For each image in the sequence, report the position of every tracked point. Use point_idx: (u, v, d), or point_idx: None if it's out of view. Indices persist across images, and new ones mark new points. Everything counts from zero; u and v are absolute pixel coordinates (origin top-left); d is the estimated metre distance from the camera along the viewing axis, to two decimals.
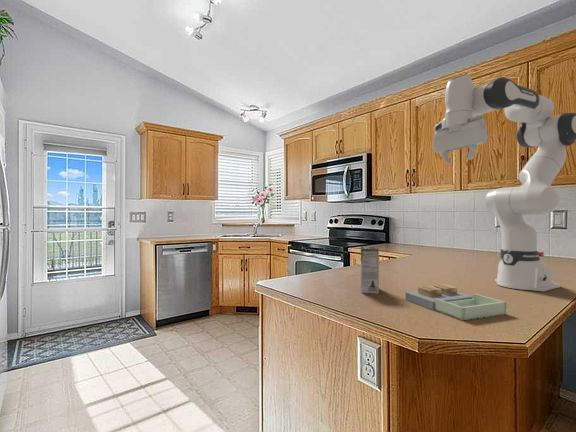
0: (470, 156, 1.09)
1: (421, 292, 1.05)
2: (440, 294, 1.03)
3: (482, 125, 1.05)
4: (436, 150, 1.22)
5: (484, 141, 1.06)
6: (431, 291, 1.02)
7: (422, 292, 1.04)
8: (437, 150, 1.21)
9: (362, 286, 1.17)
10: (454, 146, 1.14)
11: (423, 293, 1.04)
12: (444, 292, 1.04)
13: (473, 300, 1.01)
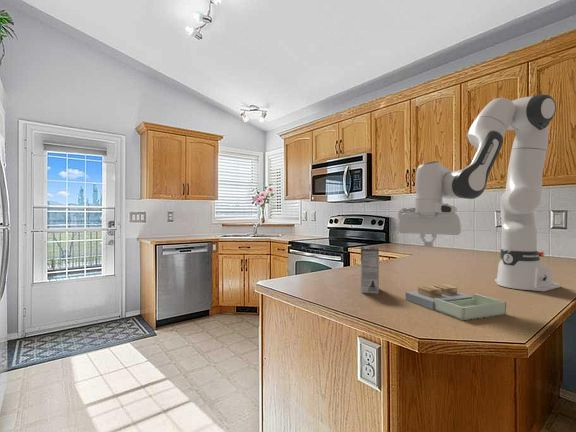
0: None
1: (421, 292, 1.05)
2: (440, 294, 1.03)
3: None
4: None
5: (399, 231, 1.18)
6: (431, 291, 1.02)
7: (422, 292, 1.04)
8: None
9: (362, 286, 1.17)
10: None
11: (423, 293, 1.04)
12: (444, 292, 1.04)
13: (473, 300, 1.01)
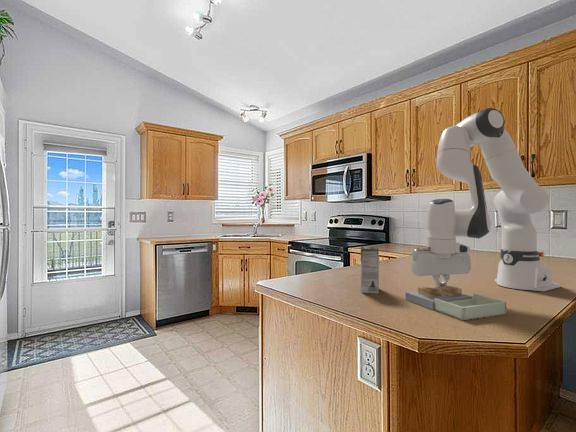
0: (436, 285, 1.09)
1: (421, 292, 1.05)
2: (440, 294, 1.03)
3: None
4: None
5: (415, 274, 1.06)
6: (431, 291, 1.02)
7: (422, 292, 1.04)
8: None
9: (362, 286, 1.17)
10: None
11: (423, 293, 1.04)
12: (448, 293, 1.02)
13: (473, 300, 1.01)
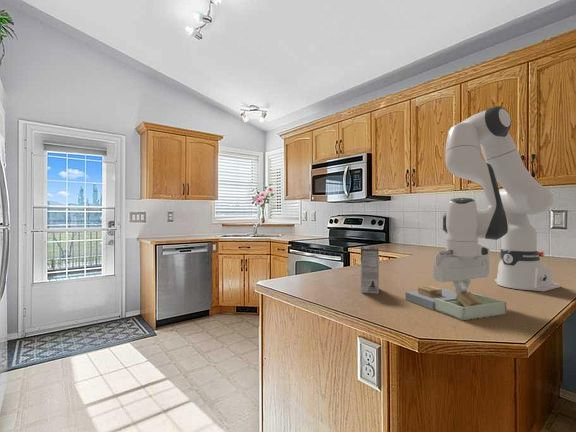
0: (456, 291, 1.01)
1: (421, 292, 1.05)
2: (440, 294, 1.03)
3: None
4: None
5: (439, 280, 0.97)
6: (431, 291, 1.02)
7: (422, 292, 1.04)
8: None
9: (362, 286, 1.17)
10: None
11: (423, 293, 1.04)
12: None
13: None
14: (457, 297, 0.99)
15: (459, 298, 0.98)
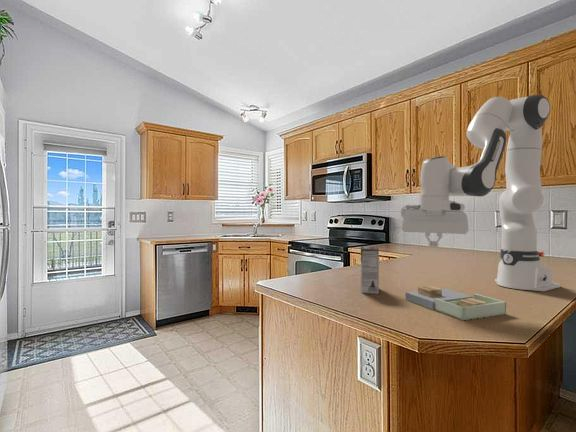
0: (428, 243, 1.09)
1: (421, 292, 1.05)
2: (440, 294, 1.03)
3: None
4: None
5: None
6: (431, 291, 1.02)
7: (422, 292, 1.04)
8: None
9: (362, 286, 1.17)
10: None
11: (423, 293, 1.04)
12: None
13: None
14: (460, 304, 0.98)
15: (462, 304, 0.97)
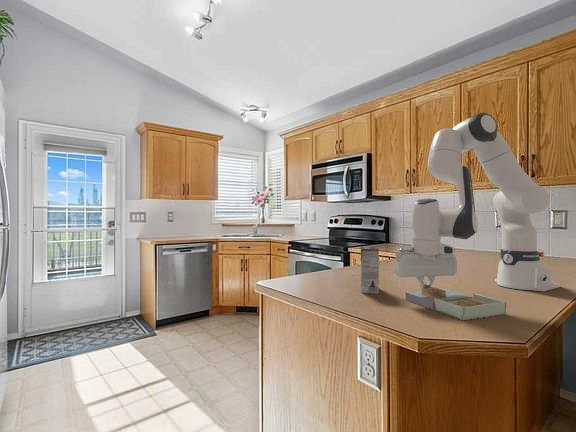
0: (420, 286, 1.07)
1: (424, 293, 1.03)
2: (444, 296, 1.01)
3: None
4: None
5: (398, 275, 1.05)
6: (434, 292, 1.00)
7: (425, 293, 1.03)
8: None
9: (362, 286, 1.17)
10: None
11: (426, 294, 1.02)
12: None
13: None
14: (460, 304, 0.98)
15: (462, 304, 0.97)
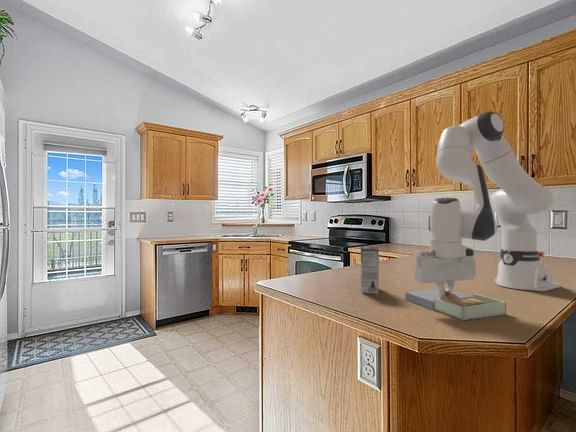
0: (440, 292, 0.99)
1: None
2: None
3: None
4: None
5: (419, 281, 0.95)
6: None
7: None
8: None
9: (362, 286, 1.17)
10: None
11: None
12: None
13: None
14: None
15: None
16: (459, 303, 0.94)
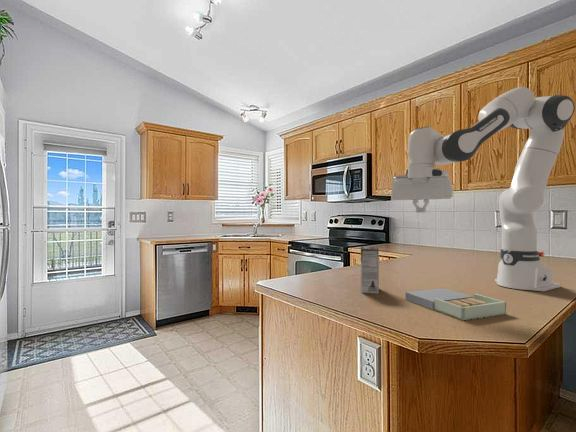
0: None
1: None
2: None
3: None
4: None
5: (392, 198, 1.20)
6: None
7: None
8: None
9: (362, 286, 1.17)
10: None
11: None
12: None
13: None
14: None
15: None
16: (461, 304, 0.93)
